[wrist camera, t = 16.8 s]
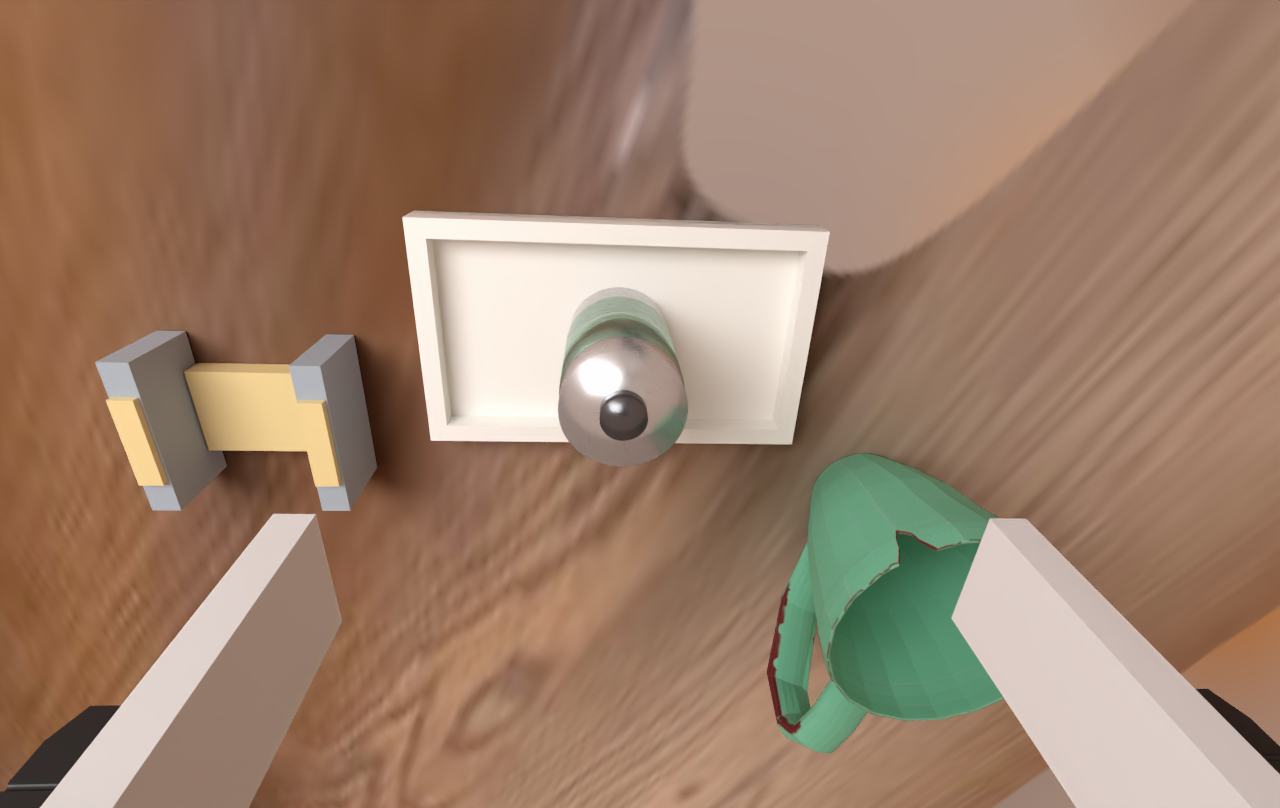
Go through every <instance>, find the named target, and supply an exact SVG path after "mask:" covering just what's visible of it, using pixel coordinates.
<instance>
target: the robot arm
mask: <svg viewBox="0 0 1280 808" xmlns="http://www.w3.org/2000/svg"><path fill="white" fill-rule="evenodd" d="M951 619H952V620H953V622H954V623H955V625H956V626H957V628H958V629H959V631H960V632H961V634H962V635H963V637H964V638H965V640H966V641H967V643H968V644H969V646H970V647H971V649H972V650H973V652H974V653H975V655H976V656H977V658H978V660H979V661H980V663H981V664H982V666H983V667H984V669H985V670H986V672H987V673H988V675H989V676H990V678H991V679H992V681H993V682H994V684H995V685H996V687H997V688H998V690H999V691H1000V693H1001V694H1002V696H1003V697H1004V699H1005V700H1006V702H1007V703H1008V705H1009V706H1010V708H1011V709H1012V711H1013V713H1014V714H1015V716H1016V717H1017V719H1018V720H1019V722H1020V723H1021V725H1022V726H1023V728H1024V729H1025V731H1026V732H1027V734H1028V735H1029V737H1030V738H1031V740H1032V741H1033V743H1034V744H1035V746H1036V747H1037V749H1038V750H1039V752H1040V753H1041V755H1042V756H1043V758H1044V759H1045V761H1046V763H1047V764H1048V766H1049V767H1050V769H1051V770H1052V772H1053V773H1054V775H1055V776H1056V778H1057V779H1058V781H1059V782H1060V783H1061V785H1062V787H1063V788H1064V790H1065V791H1066V793H1067V794H1068V796H1069V797H1070V799H1071V800H1072V802H1073V803H1074V805H1075V806H1076V808H1280V746H1279V745H1277V744H1276V743H1275V742H1274V741H1273V740H1272V739H1271V738H1270V737H1269V736H1268V735H1267V734H1266V733H1265V732H1264V731H1263V730H1262V729H1261V728H1260V727H1259V726H1258V725H1257V724H1256V723H1255V722H1254V721H1253V720H1252V719H1250V718H1249V717H1248V716H1246V715H1245V714H1243V713H1242V712H1240V711H1239V710H1238V709H1236V708H1235V707H1233V706H1232V705H1230V704H1229V703H1227V702H1226V701H1224V700H1223V699H1222V698H1220V697H1219V696H1217V695H1216V694H1214V693H1213V692H1211V691H1210V690H1209V689H1195V688H1194V687H1193V686H1192V685H1191V684H1190V683H1189V682H1188V681H1187V680H1186V679H1185V678H1184V677H1183V676H1182V675H1181V674H1180V673H1179V672H1178V671H1177V670H1176V669H1175V668H1174V667H1173V666H1172V665H1171V664H1170V663H1169V662H1168V661H1167V660H1166V659H1165V658H1164V657H1163V656H1162V655H1161V654H1160V653H1159V652H1158V651H1157V650H1156V649H1155V648H1154V647H1153V646H1152V645H1151V644H1150V643H1149V642H1148V641H1147V640H1146V639H1145V638H1144V637H1143V636H1142V635H1141V634H1140V633H1139V632H1138V631H1137V630H1136V629H1135V628H1134V627H1133V626H1132V625H1131V624H1130V623H1129V622H1128V621H1127V620H1126V619H1125V618H1124V617H1123V616H1122V615H1121V614H1120V613H1119V612H1118V611H1117V610H1116V609H1115V608H1114V607H1113V606H1112V605H1111V604H1110V603H1109V602H1108V601H1107V600H1106V599H1105V598H1104V597H1103V596H1102V595H1101V594H1100V593H1099V592H1098V591H1097V590H1096V589H1095V588H1094V587H1093V586H1092V585H1091V584H1090V583H1089V582H1088V580H1087V579H1086V578H1085V577H1084V576H1083V575H1082V574H1081V573H1080V572H1079V571H1078V570H1077V569H1076V568H1075V567H1074V566H1073V565H1072V564H1071V563H1070V562H1069V561H1068V560H1067V559H1066V558H1065V557H1064V556H1063V555H1062V554H1061V553H1060V552H1059V551H1058V550H1057V549H1056V548H1055V547H1054V546H1053V545H1052V544H1051V543H1050V542H1049V541H1048V540H1047V539H1046V538H1045V537H1044V536H1043V535H1042V534H1041V533H1040V532H1039V531H1038V530H1037V529H1036V528H1035V527H1034V526H1033V525H1032V524H1031V523H1030V522H1029V521H1028V520H1027V519H1005V518H990V519H989V522H988V524H987V527H986V529H985V532H984V535H983V537H982V540H981V542H980V545H979V548H978V550H977V553H976V555H975V558H974V561H973V563H972V566H971V568H970V571H969V574H968V576H967V579H966V581H965V584H964V587H963V589H962V592H961V594H960V597H959V600H958V602H957V605H956V607H955V610H954V612H953V615H952V618H951ZM341 623H342V619H341V615H340V611H339V607H338V603H337V598H336V594H335V590H334V586H333V582H332V578H331V574H330V570H329V566H328V562H327V558H326V554H325V549H324V545H323V541H322V537H321V533H320V529H319V525H318V521H317V517H316V514H273V515H272V516H271V518H270V519H269V520H268V521H267V523H266V524H265V525H264V526H263V528H262V529H261V530H260V531H259V533H258V534H257V535H256V536H255V538H254V539H253V540H252V541H251V543H250V544H249V545H248V546H247V548H246V549H245V550H244V551H243V553H242V554H241V555H240V557H239V558H238V559H237V560H236V562H235V563H234V564H233V565H232V567H231V568H230V569H229V570H228V572H227V573H226V574H225V575H224V577H223V578H222V579H221V580H220V582H219V583H218V584H217V585H216V587H215V588H214V589H213V591H212V592H211V593H210V594H209V596H208V597H207V598H206V599H205V601H204V602H203V603H202V604H201V606H200V607H199V608H198V609H197V611H196V612H195V613H194V614H193V616H192V617H191V618H190V619H189V621H188V622H187V623H186V624H185V626H184V627H183V628H182V630H181V631H180V632H179V633H178V635H177V636H176V637H175V638H174V640H173V641H172V642H171V643H170V645H169V646H168V647H167V648H166V650H165V651H164V652H163V653H162V655H161V656H160V657H159V658H158V660H157V661H156V662H155V664H154V665H153V666H152V667H151V669H150V670H149V671H148V672H147V674H146V675H145V676H144V677H143V679H142V680H141V681H140V682H139V684H138V685H137V686H136V687H135V689H134V690H133V691H132V692H131V694H130V695H129V696H128V697H127V699H126V700H125V701H124V703H123V704H122V705H121V706H90V707H88V708H87V709H86V710H84V711H83V712H82V713H81V714H79V715H78V716H77V717H75V718H74V719H73V720H71V721H70V722H69V723H67V724H66V725H65V726H64V727H62V728H61V729H60V730H58V731H57V732H56V733H54V734H53V735H52V736H51V737H49V738H48V739H47V740H45V741H44V742H43V743H42V745H41V746H40V747H39V748H38V749H37V750H36V751H35V753H34V754H33V755H32V756H31V757H30V758H29V760H28V761H27V762H26V763H25V764H24V765H23V766H22V768H21V769H20V770H19V771H18V772H17V773H16V774H15V776H14V777H13V778H12V779H11V780H10V781H9V783H8V788H7V789H6V790H5V791H4V792H0V808H249V806H250V804H251V802H252V800H253V798H254V796H255V794H256V792H257V790H258V788H259V786H260V784H261V782H262V780H263V778H264V776H265V774H266V772H267V770H268V768H269V766H270V764H271V762H272V760H273V758H274V756H275V754H276V752H277V750H278V748H279V746H280V744H281V742H282V740H283V738H284V736H285V734H286V732H287V730H288V728H289V726H290V724H291V722H292V720H293V718H294V716H295V714H296V712H297V710H298V708H299V706H300V704H301V702H302V700H303V698H304V696H305V694H306V692H307V690H308V688H309V686H310V684H311V682H312V680H313V678H314V676H315V674H316V672H317V670H318V668H319V666H320V664H321V662H322V660H323V658H324V656H325V655H326V653H327V651H328V649H329V647H330V645H331V643H332V641H333V639H334V637H335V635H336V633H337V631H338V629H339V627H340V625H341Z"/></svg>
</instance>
